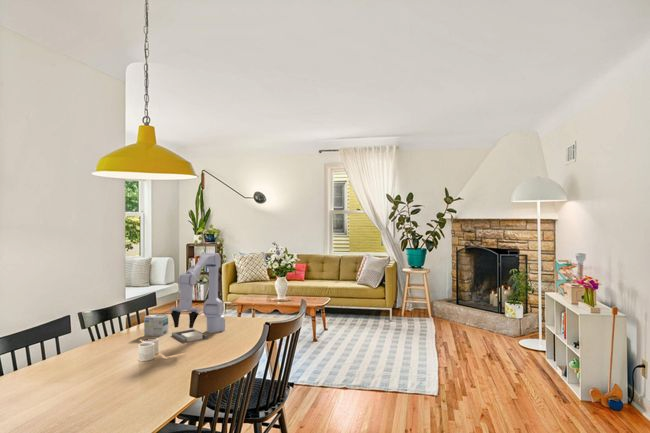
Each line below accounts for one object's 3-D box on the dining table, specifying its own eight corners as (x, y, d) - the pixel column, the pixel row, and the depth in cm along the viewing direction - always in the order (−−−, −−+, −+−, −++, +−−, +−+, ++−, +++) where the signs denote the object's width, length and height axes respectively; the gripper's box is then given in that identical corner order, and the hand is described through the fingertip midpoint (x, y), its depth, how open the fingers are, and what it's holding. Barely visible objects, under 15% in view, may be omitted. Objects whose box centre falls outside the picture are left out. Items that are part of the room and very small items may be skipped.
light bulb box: (168, 334, 236) (168, 314, 236) (163, 337, 229) (163, 317, 229) (150, 333, 237) (149, 314, 237) (143, 337, 230) (143, 316, 230)
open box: (193, 333, 237) (193, 328, 237) (207, 340, 224) (207, 335, 224) (171, 337, 229) (171, 332, 229) (184, 344, 216) (184, 339, 216)
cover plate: (196, 335, 229) (196, 331, 229) (202, 338, 223) (202, 334, 223) (181, 338, 224) (181, 333, 224) (187, 341, 218) (187, 337, 218)
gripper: (167, 298, 208) (165, 327, 205) (195, 299, 205) (193, 329, 202) (175, 298, 214) (173, 326, 212) (202, 299, 211) (200, 327, 209)
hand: (183, 327), depth 208 cm, fingers open, 7 cm apart
